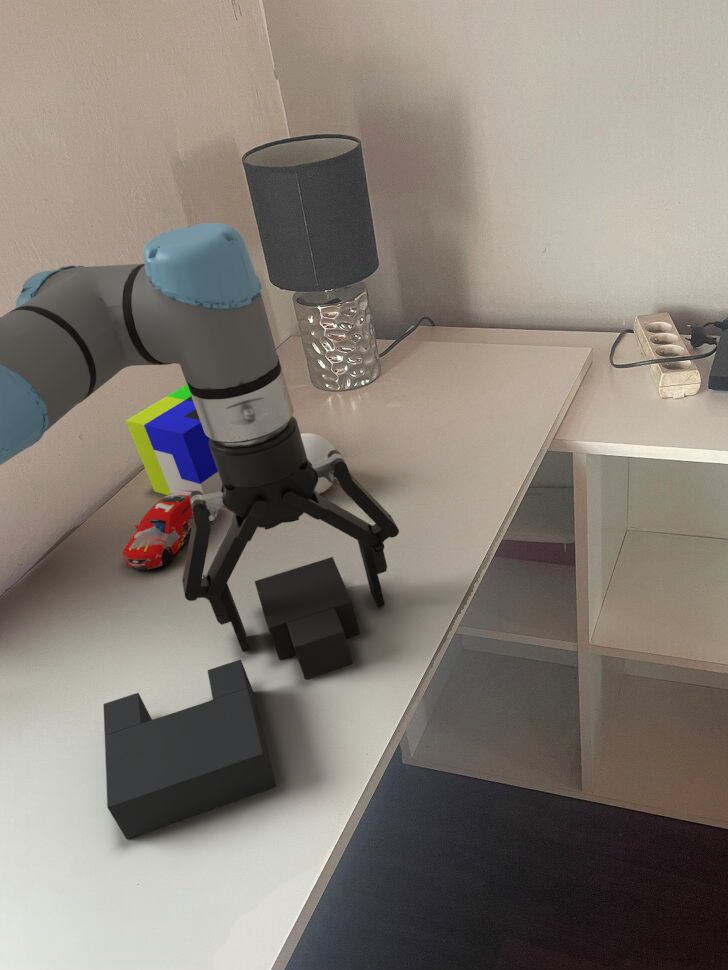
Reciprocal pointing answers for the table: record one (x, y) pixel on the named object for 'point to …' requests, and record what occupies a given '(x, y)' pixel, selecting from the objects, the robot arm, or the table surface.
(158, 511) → the race car
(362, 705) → the table surface
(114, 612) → the table surface
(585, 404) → the table surface
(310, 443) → the white sphere
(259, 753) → the notch pad
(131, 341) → the robot arm
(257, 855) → the table surface
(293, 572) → the tongue pad
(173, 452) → the puzzle toy
